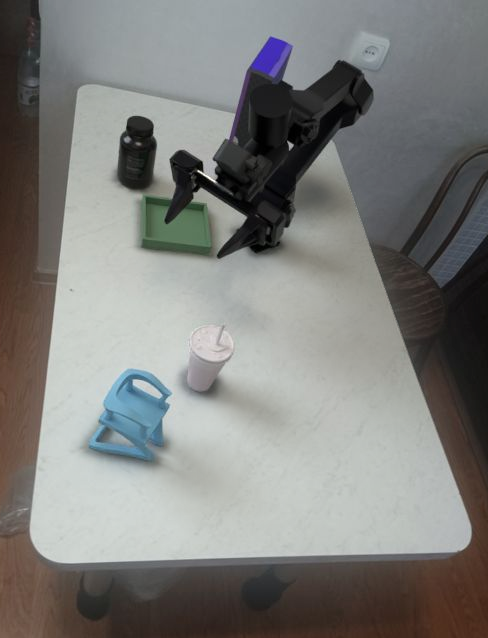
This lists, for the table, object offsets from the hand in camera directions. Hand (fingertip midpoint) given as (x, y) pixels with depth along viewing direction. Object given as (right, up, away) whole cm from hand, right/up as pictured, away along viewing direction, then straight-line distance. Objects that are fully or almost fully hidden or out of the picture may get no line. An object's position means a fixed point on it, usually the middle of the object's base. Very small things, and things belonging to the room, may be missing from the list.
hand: (191, 239), depth 75 cm
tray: (-6, +7, +24) cm, 26 cm away
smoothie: (+1, -20, +6) cm, 21 cm away
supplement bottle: (-14, +18, +30) cm, 38 cm away
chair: (-8, -27, -3) cm, 29 cm away
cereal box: (+6, +24, +42) cm, 48 cm away
